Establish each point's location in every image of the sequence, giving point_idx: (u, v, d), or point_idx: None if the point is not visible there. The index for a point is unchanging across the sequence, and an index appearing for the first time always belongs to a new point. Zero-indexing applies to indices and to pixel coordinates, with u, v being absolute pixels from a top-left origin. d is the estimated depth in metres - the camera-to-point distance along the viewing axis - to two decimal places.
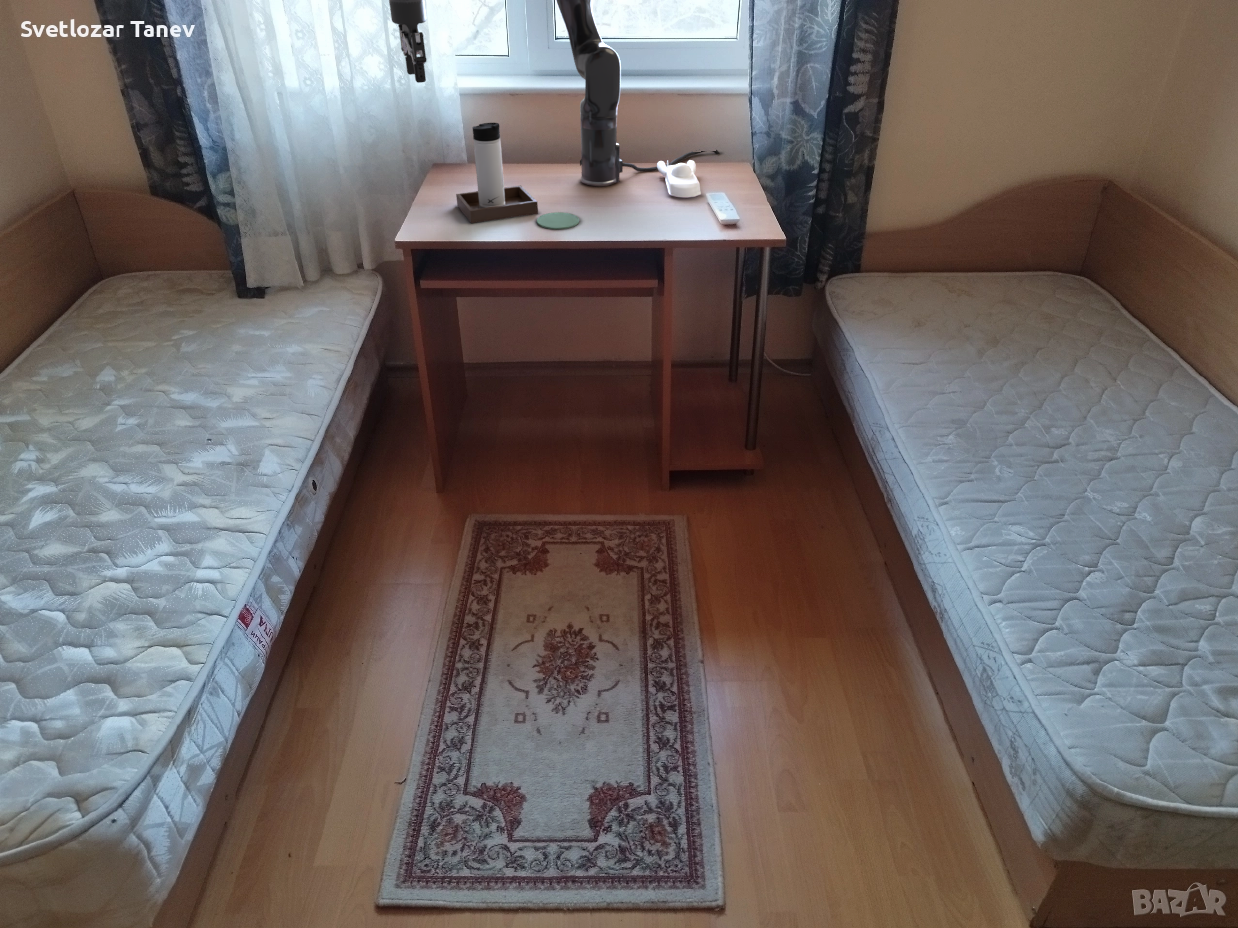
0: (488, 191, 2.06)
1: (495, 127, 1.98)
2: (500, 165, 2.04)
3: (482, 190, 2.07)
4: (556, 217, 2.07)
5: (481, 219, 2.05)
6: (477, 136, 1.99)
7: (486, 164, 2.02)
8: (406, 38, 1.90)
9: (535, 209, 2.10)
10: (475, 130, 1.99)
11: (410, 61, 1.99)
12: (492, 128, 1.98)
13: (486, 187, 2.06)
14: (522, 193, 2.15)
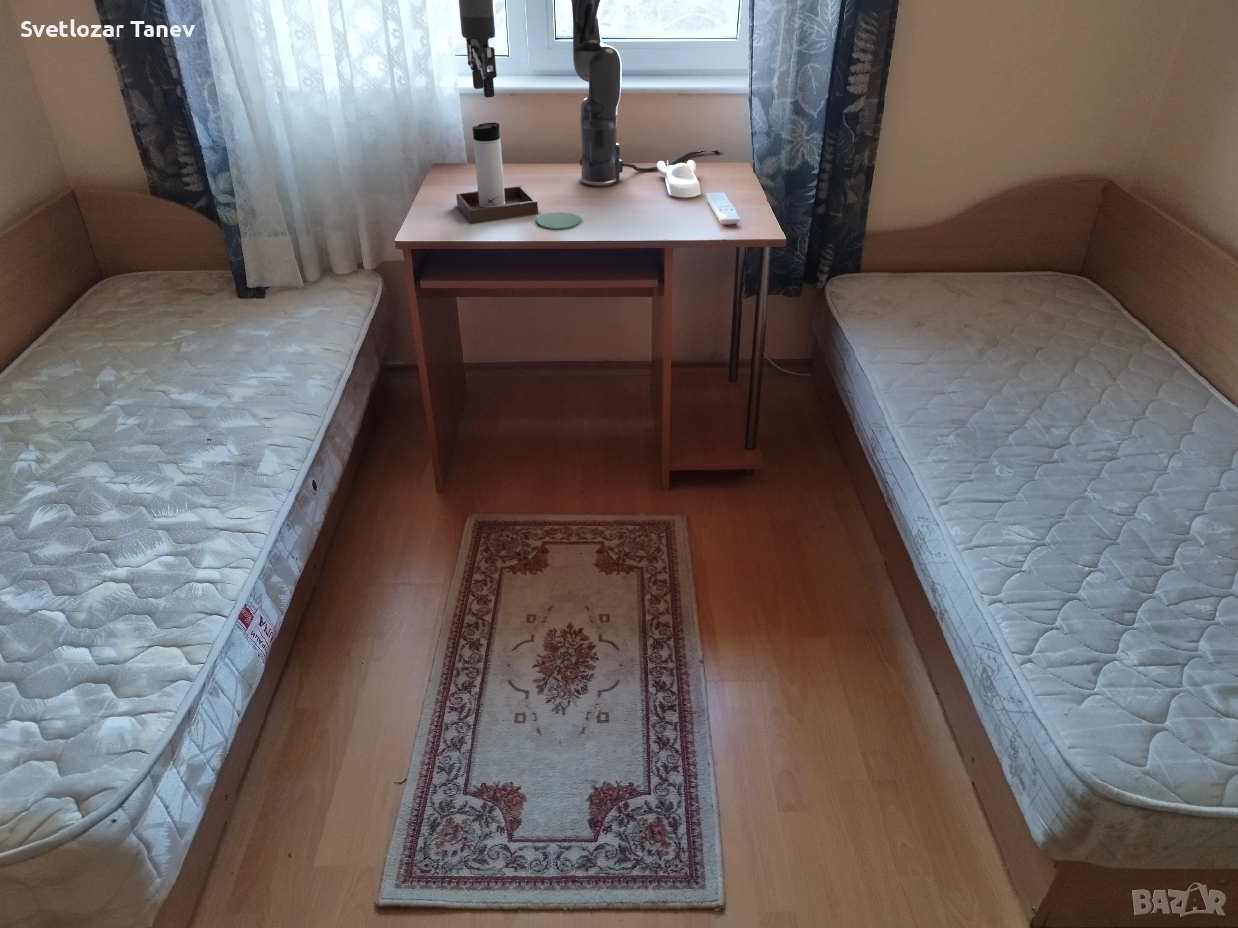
0: (488, 191, 2.06)
1: (495, 127, 1.98)
2: (500, 165, 2.04)
3: (482, 190, 2.07)
4: (556, 217, 2.07)
5: (481, 219, 2.05)
6: (477, 136, 1.99)
7: (486, 164, 2.02)
8: (476, 53, 1.89)
9: (535, 209, 2.10)
10: (475, 130, 1.99)
11: (477, 76, 1.97)
12: (492, 128, 1.98)
13: (486, 187, 2.06)
14: (522, 193, 2.15)
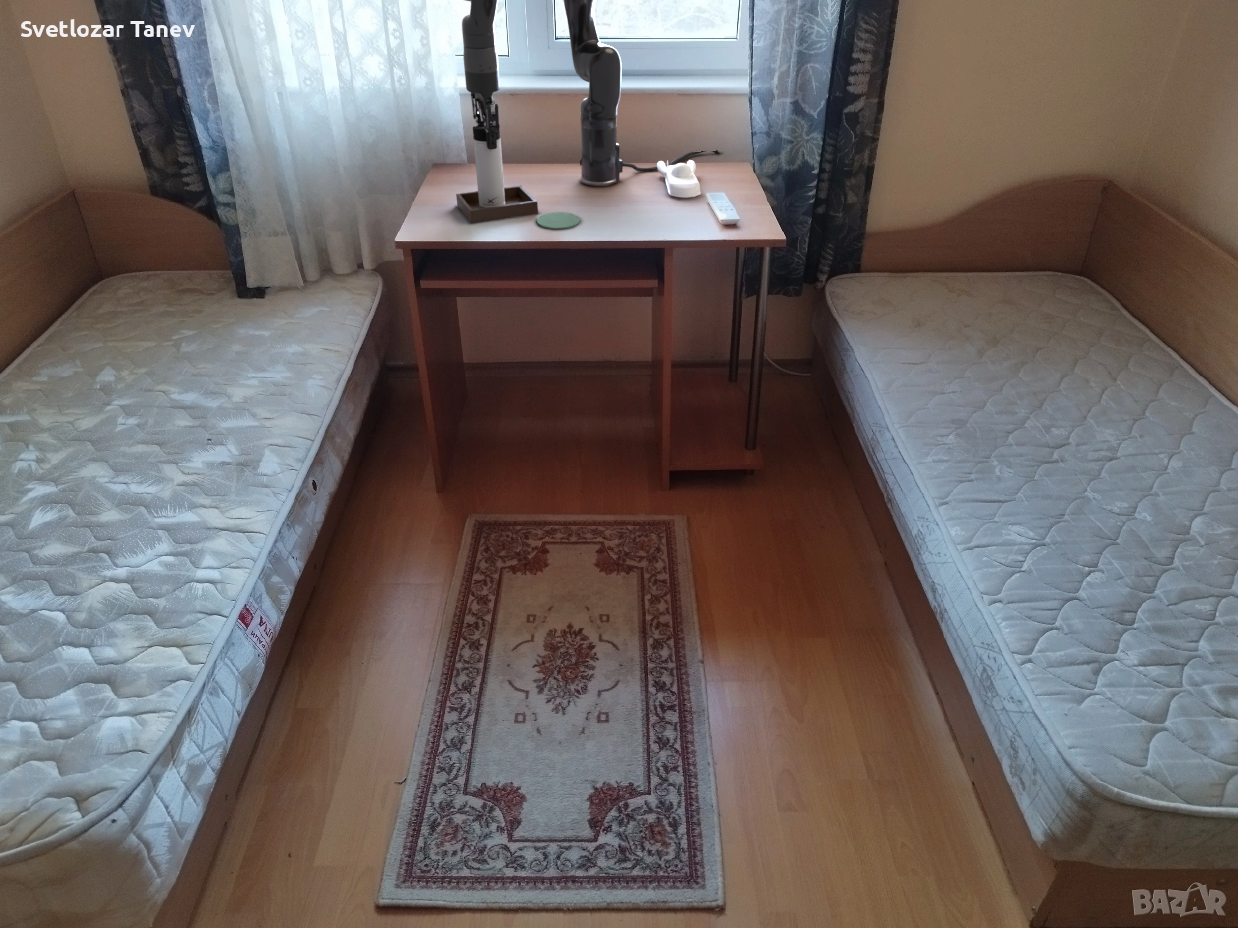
0: (488, 191, 2.06)
1: None
2: (500, 165, 2.04)
3: (482, 190, 2.06)
4: (556, 217, 2.07)
5: (481, 219, 2.05)
6: (477, 136, 1.99)
7: (487, 164, 2.02)
8: (480, 106, 1.95)
9: (535, 209, 2.10)
10: (475, 130, 1.99)
11: None
12: None
13: (486, 187, 2.06)
14: (522, 193, 2.15)
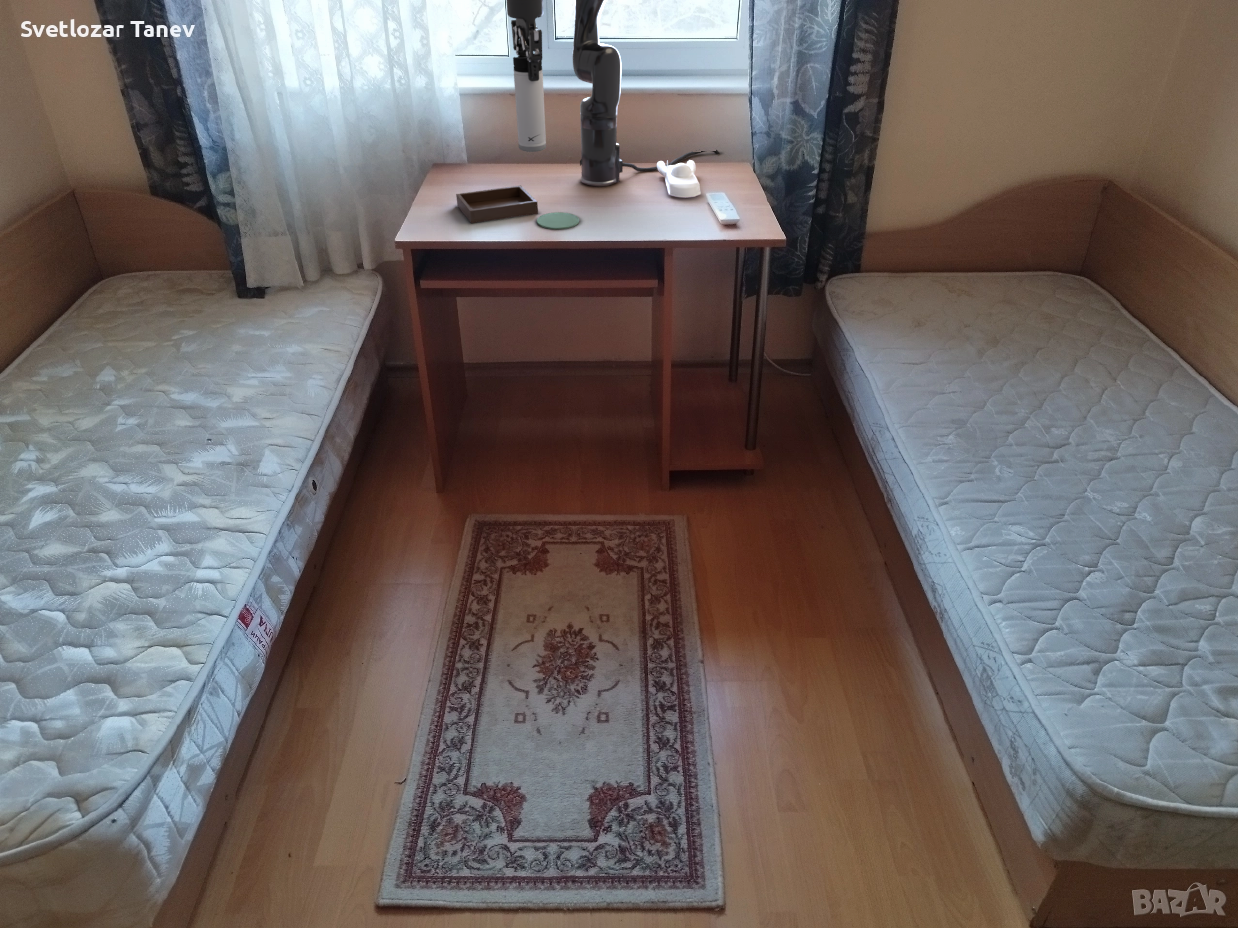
0: (528, 128, 1.93)
1: None
2: (542, 100, 1.91)
3: (522, 127, 1.93)
4: (556, 217, 2.07)
5: (481, 219, 2.05)
6: (518, 66, 1.86)
7: (528, 98, 1.89)
8: (522, 33, 1.82)
9: (535, 209, 2.10)
10: (516, 60, 1.86)
11: None
12: None
13: (526, 123, 1.92)
14: (522, 193, 2.15)
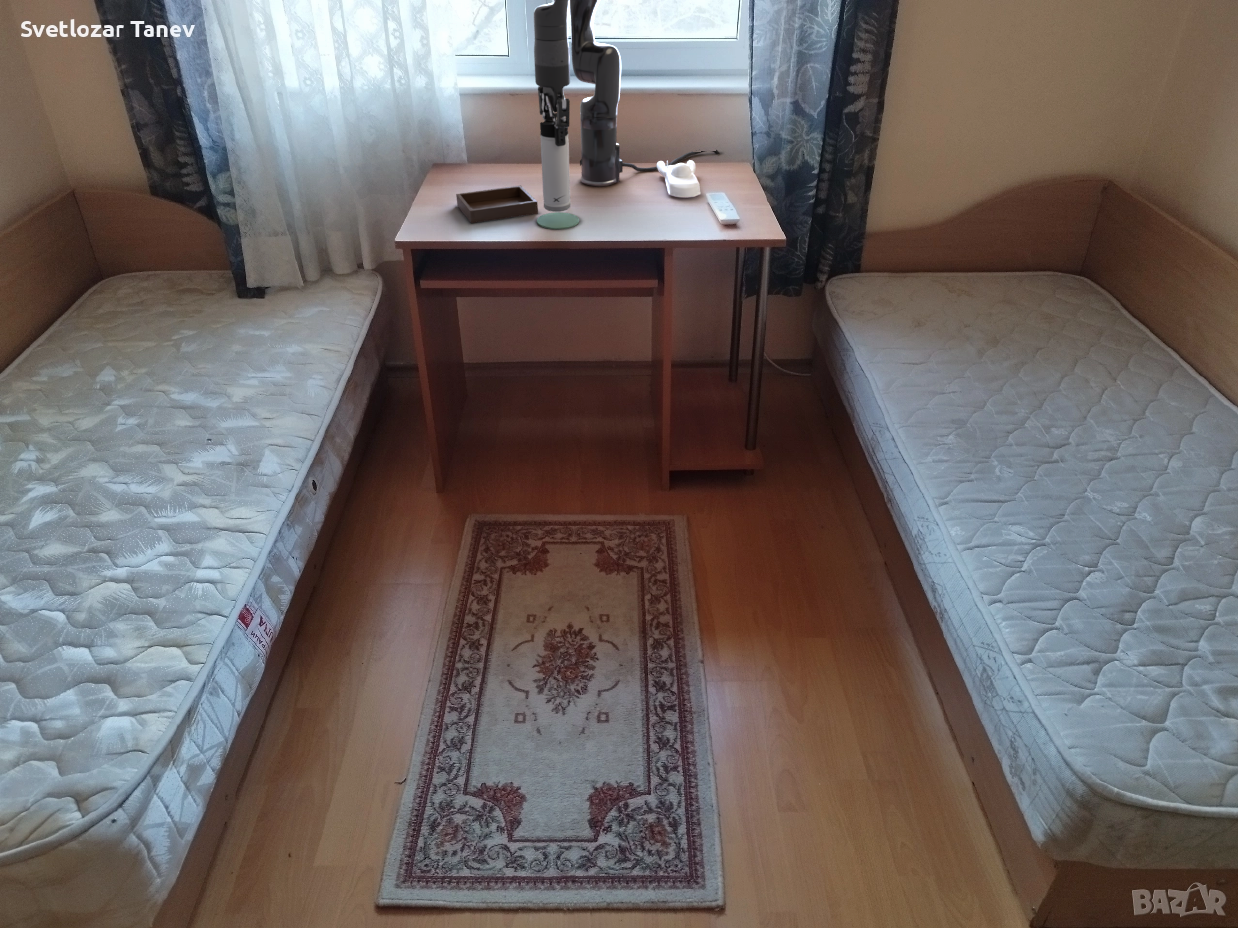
0: (554, 189, 1.99)
1: None
2: (567, 162, 1.97)
3: (548, 188, 1.99)
4: (556, 217, 2.07)
5: (481, 219, 2.05)
6: (545, 132, 1.92)
7: (554, 161, 1.95)
8: (550, 101, 1.88)
9: (535, 209, 2.10)
10: (543, 126, 1.91)
11: None
12: None
13: (552, 185, 1.98)
14: (522, 193, 2.15)
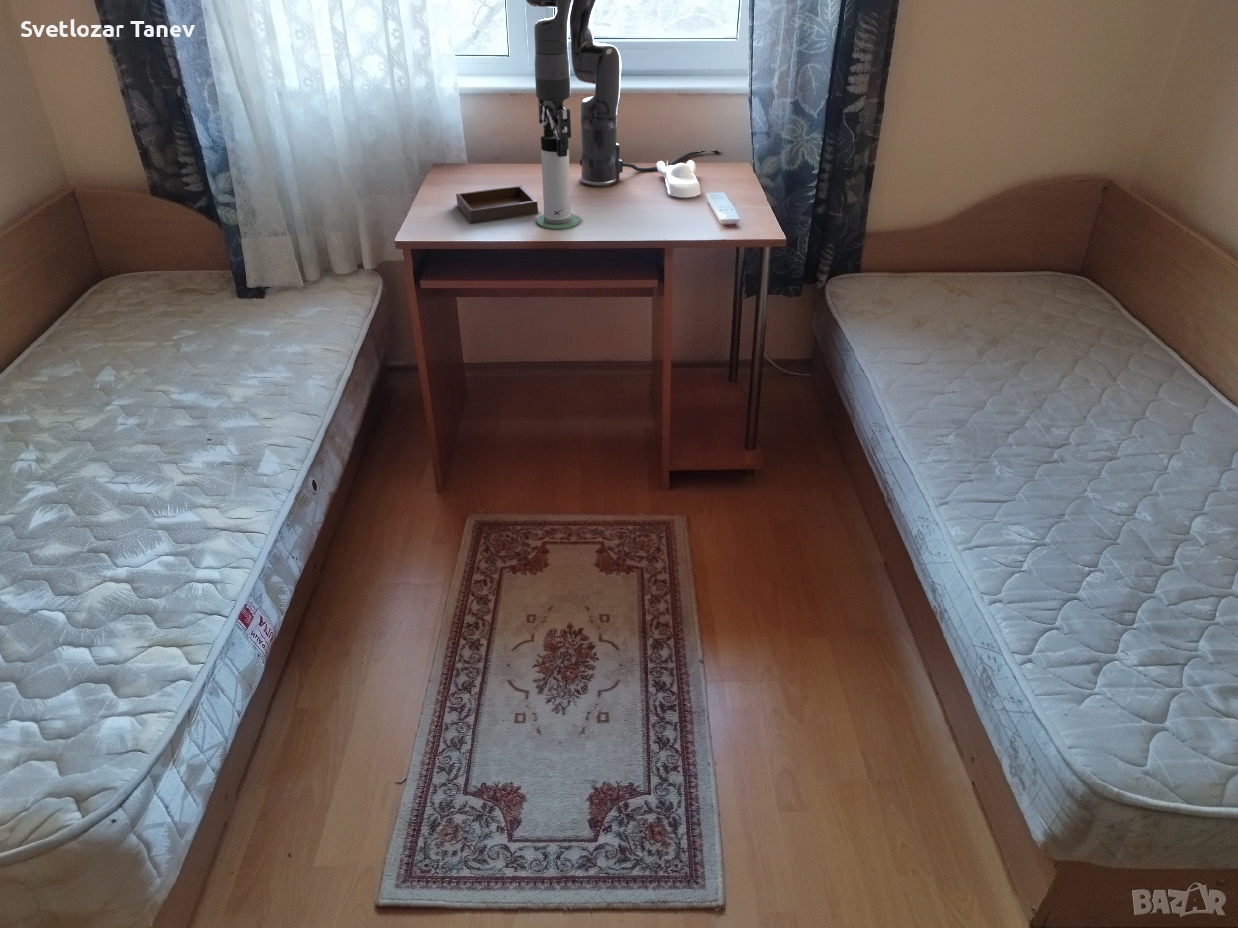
0: (555, 202, 2.00)
1: None
2: (568, 176, 1.99)
3: (548, 201, 2.01)
4: None
5: (481, 219, 2.05)
6: (545, 146, 1.93)
7: (554, 175, 1.97)
8: (550, 114, 1.89)
9: (535, 209, 2.10)
10: (544, 140, 1.93)
11: None
12: None
13: (553, 198, 2.00)
14: (522, 193, 2.15)
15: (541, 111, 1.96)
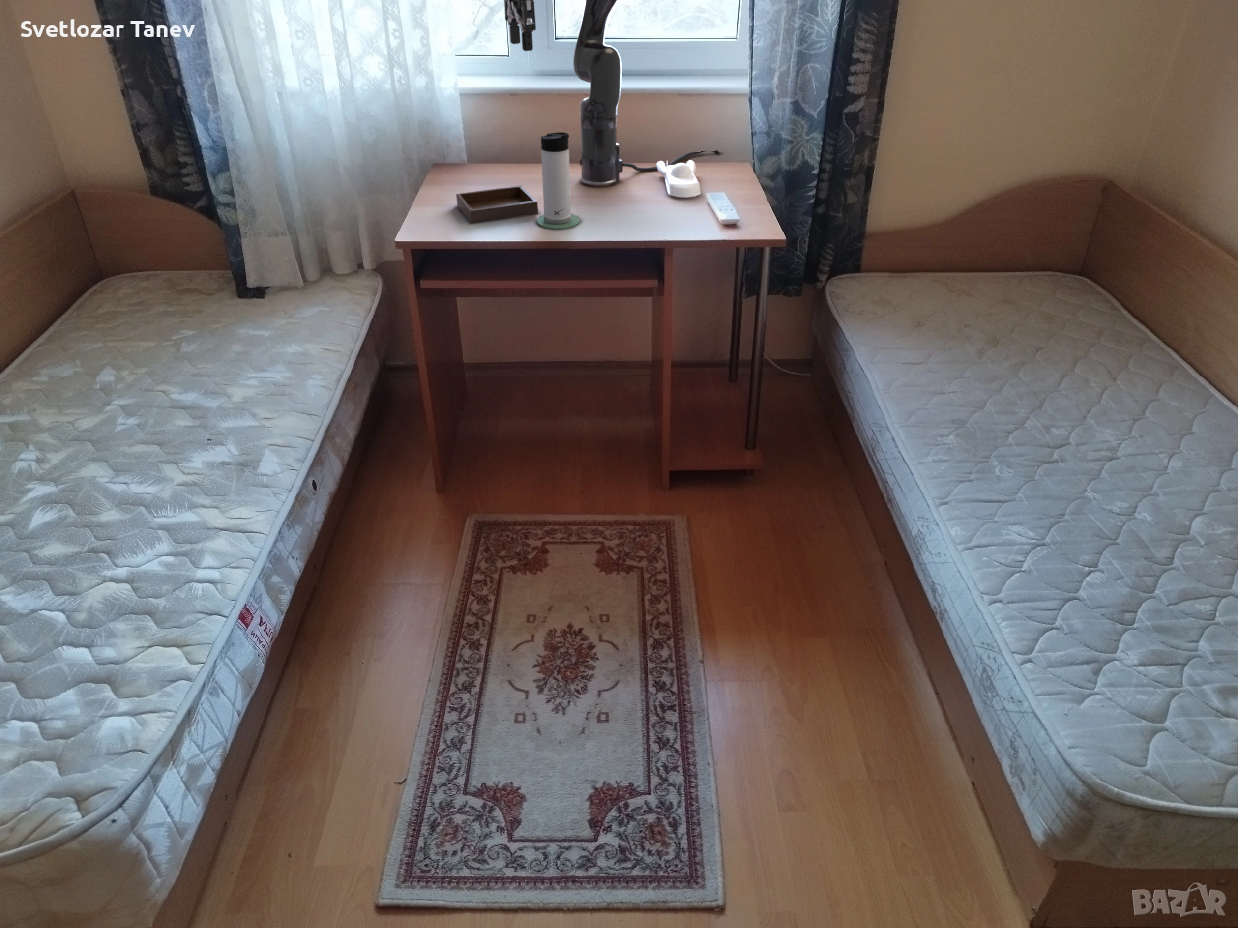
0: (555, 202, 2.00)
1: (565, 137, 1.93)
2: (568, 176, 1.99)
3: (548, 201, 2.01)
4: None
5: (481, 219, 2.05)
6: (545, 146, 1.93)
7: (554, 175, 1.97)
8: (515, 6, 1.91)
9: (535, 209, 2.10)
10: (544, 140, 1.93)
11: (514, 31, 1.99)
12: (562, 138, 1.93)
13: (553, 198, 2.00)
14: (522, 193, 2.15)
15: (507, 7, 1.98)
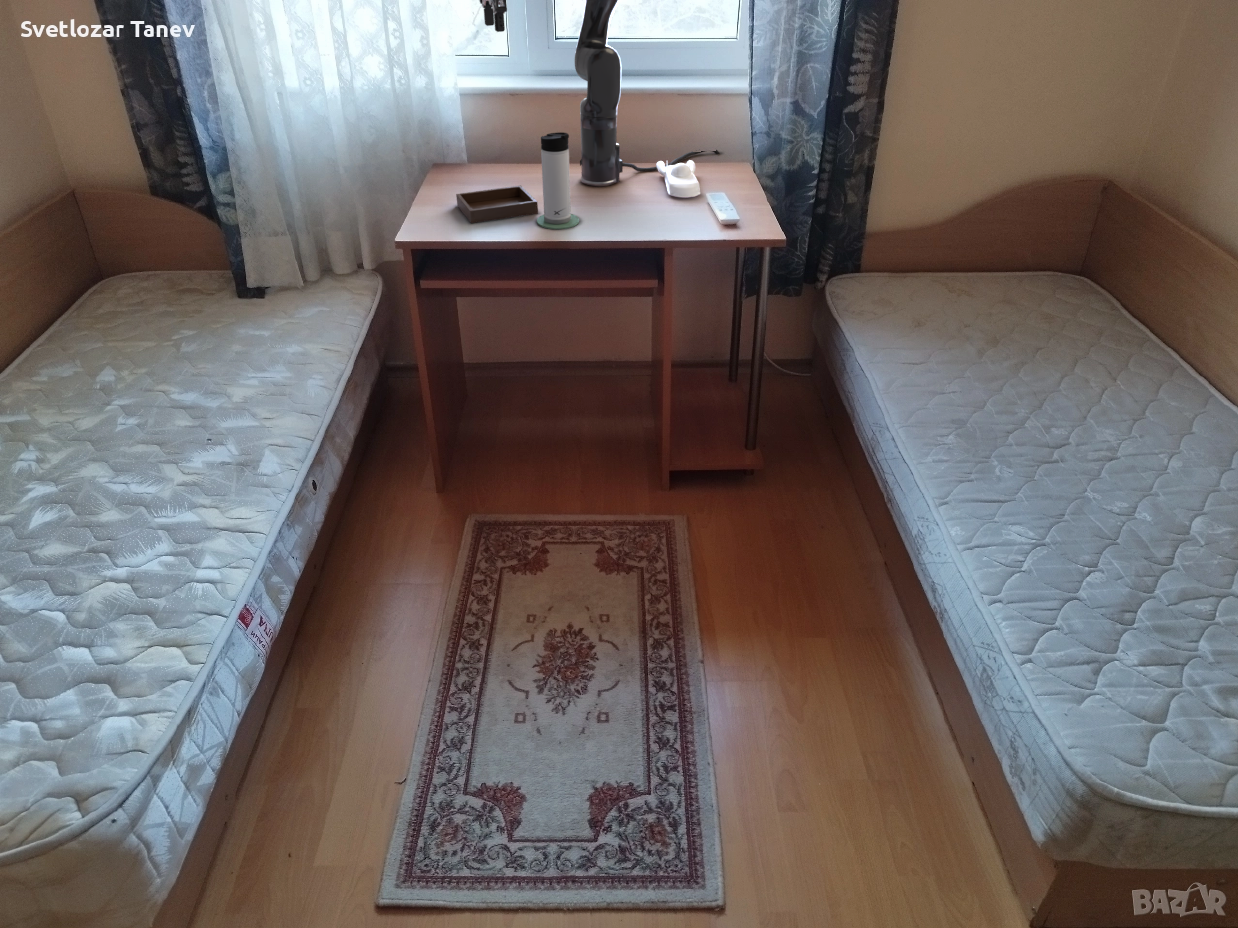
0: (555, 202, 2.00)
1: (565, 137, 1.93)
2: (568, 176, 1.99)
3: (548, 201, 2.01)
4: None
5: (481, 219, 2.05)
6: (545, 146, 1.93)
7: (554, 175, 1.97)
8: None
9: (535, 209, 2.10)
10: (544, 140, 1.93)
11: (488, 13, 2.11)
12: (562, 138, 1.93)
13: (553, 198, 2.00)
14: (522, 193, 2.15)
15: None
